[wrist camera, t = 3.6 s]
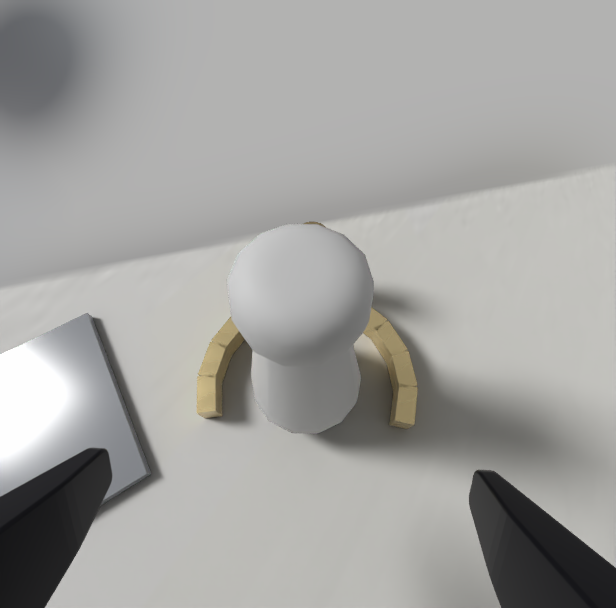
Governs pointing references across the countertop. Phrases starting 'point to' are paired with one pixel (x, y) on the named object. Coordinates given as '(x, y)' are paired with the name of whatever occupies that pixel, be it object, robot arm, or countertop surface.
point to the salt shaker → (302, 322)
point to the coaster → (64, 408)
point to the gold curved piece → (375, 330)
